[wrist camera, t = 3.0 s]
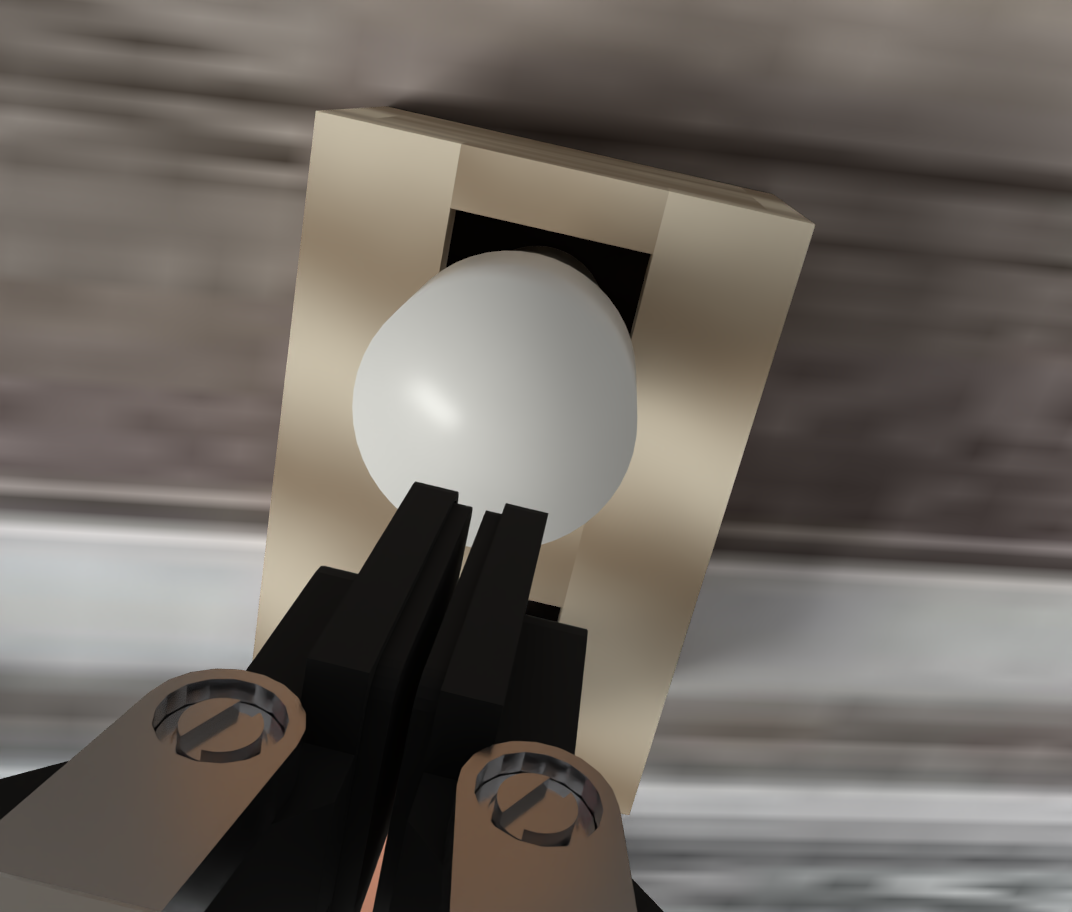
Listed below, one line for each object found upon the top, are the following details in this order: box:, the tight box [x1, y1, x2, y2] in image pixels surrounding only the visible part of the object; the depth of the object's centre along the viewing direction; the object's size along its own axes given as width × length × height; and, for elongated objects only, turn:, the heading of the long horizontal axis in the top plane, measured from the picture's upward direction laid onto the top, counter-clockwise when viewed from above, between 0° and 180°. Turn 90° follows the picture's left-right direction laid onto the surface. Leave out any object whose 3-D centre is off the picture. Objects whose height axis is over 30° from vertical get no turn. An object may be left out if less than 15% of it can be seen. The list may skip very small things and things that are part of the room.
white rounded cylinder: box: [352, 246, 637, 547], centre depth 21 cm, size 5×5×9 cm
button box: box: [253, 106, 815, 815], centre depth 29 cm, size 18×12×7 cm, turn 168°
